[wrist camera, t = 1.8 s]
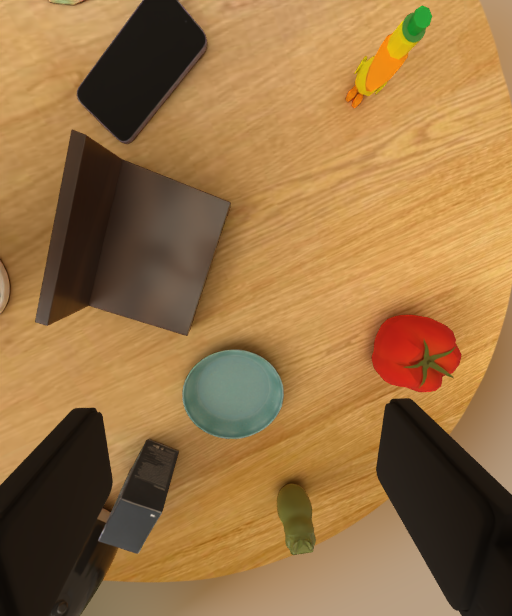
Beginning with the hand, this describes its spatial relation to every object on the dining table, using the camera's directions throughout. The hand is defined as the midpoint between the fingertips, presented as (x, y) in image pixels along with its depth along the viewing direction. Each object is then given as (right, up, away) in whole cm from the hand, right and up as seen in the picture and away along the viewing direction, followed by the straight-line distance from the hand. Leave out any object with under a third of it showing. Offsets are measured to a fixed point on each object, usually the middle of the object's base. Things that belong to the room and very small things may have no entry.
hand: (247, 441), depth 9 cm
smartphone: (-13, +31, +23) cm, 41 cm away
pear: (+6, -28, +40) cm, 49 cm away
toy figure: (+12, +30, +25) cm, 41 cm away
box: (-17, -21, +36) cm, 45 cm away
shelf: (-13, +12, +28) cm, 33 cm away
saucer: (-3, -8, +34) cm, 35 cm away
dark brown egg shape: (-27, -32, +38) cm, 57 cm away
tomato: (+22, -1, +34) cm, 40 cm away
